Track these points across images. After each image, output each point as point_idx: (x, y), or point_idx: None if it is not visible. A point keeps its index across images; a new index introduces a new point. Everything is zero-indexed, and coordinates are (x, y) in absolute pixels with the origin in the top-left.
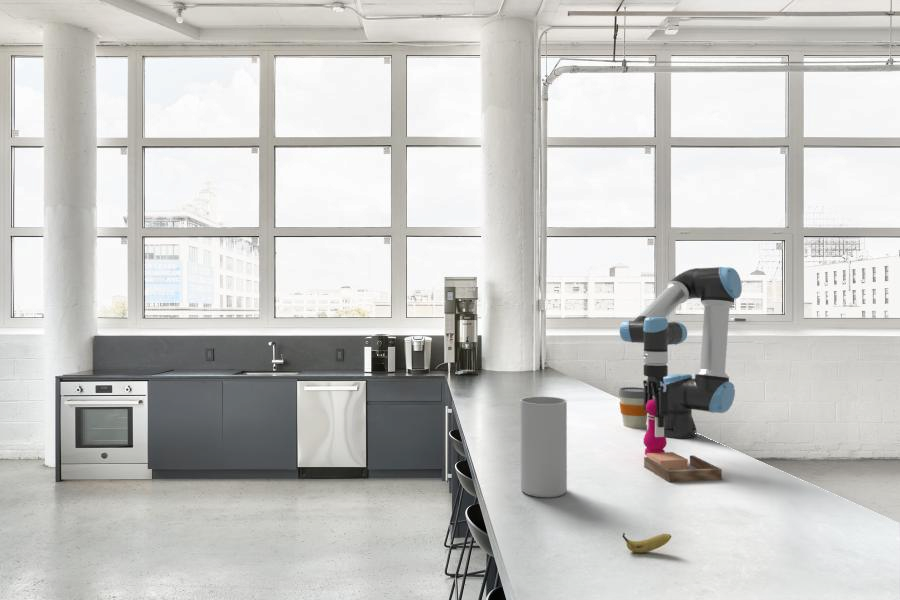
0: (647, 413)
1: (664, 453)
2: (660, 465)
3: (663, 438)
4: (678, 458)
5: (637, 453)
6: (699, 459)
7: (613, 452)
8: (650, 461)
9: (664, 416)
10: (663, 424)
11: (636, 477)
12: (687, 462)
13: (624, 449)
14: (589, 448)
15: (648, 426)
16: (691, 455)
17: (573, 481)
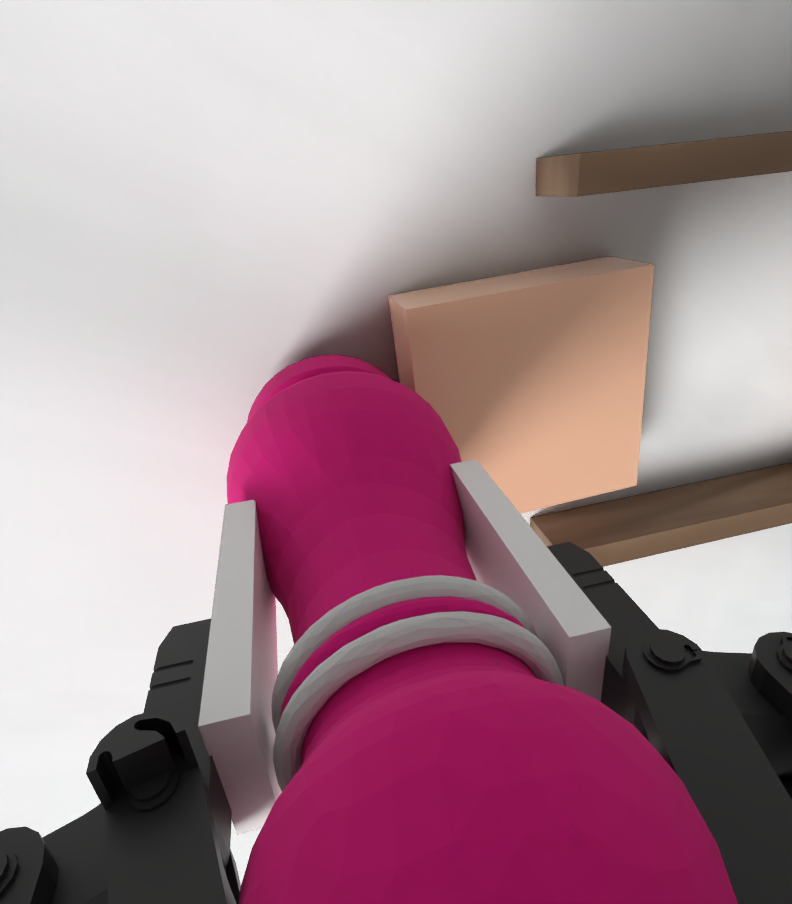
0: (250, 826)
1: (450, 400)
2: (749, 520)
3: (450, 450)
4: (612, 333)
5: (160, 515)
6: (714, 161)
7: (152, 664)
8: (647, 554)
9: (713, 654)
10: (599, 569)
11: (692, 604)
12: (637, 262)
13: (26, 587)
14: (52, 786)
15: (275, 636)
16: (580, 176)
17: None
